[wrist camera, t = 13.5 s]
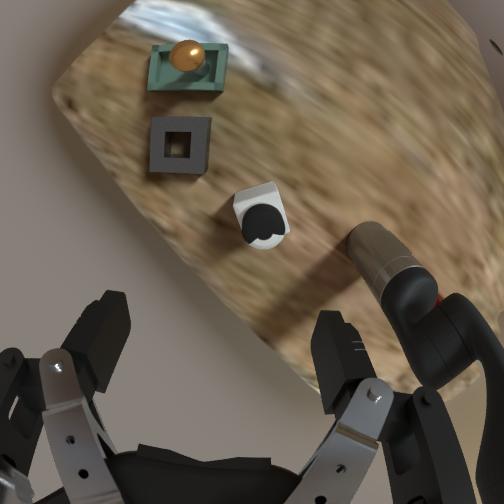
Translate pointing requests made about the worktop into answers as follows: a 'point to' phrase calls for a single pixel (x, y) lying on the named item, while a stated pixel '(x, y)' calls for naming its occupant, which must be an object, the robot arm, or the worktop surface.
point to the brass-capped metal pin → (189, 58)
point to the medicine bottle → (261, 215)
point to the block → (162, 144)
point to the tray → (175, 80)
